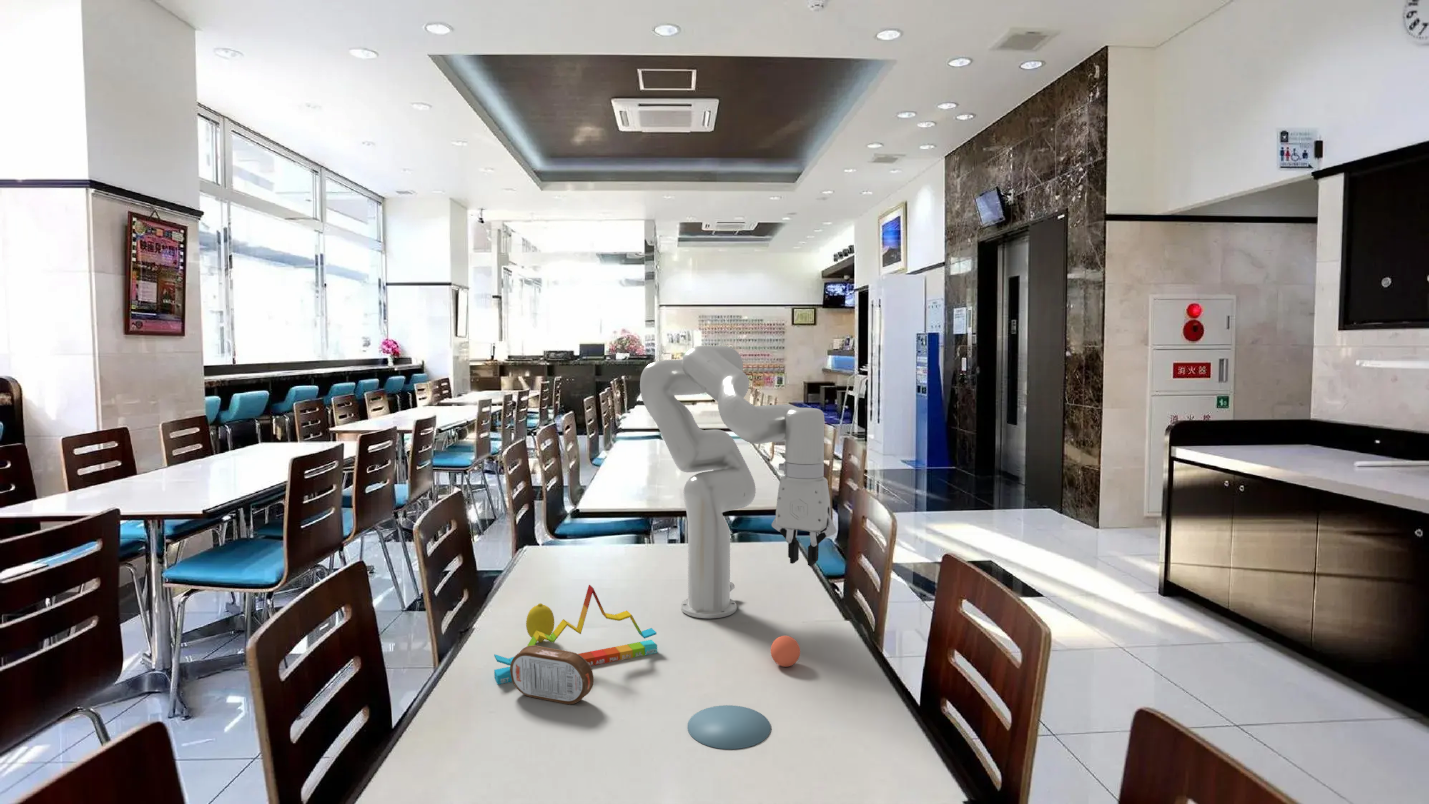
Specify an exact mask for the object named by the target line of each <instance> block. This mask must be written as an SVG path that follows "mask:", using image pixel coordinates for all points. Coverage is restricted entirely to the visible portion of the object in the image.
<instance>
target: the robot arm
mask: <svg viewBox="0 0 1429 804" xmlns="http://www.w3.org/2000/svg"><path fill="white" fill-rule="evenodd" d="M743 363H744V362H743V358H742V356H741V355H740V353H739V351H737V350H736V349H735V348H733V347H731V346H727V345H698V346H695V347H691V348H690V349H689V350H687V351H686V352H685V354H684V355H683V357H682V359H663V360H656V361H654V362H651V363H648V365H647V366H645V367H644V369H643V370H642V372H641V374H640V380H639V381H640V382H639V388H640V389H639V390H640V396H641V400H642V402H643V404H644V406H645V410H647V412H648V413H649V415H650V417H651V418H652V420H653V421H654V422H655V425H657V427H658V430H659V432H660V435H661V436H662V438H663V441H664V443H665V445H666V447H667V449H668V451H669V454H670V456H671V458H672V460H673V462H674V464H675V465H676V467H677V468H678V469H679V470H680V471H681V472H683V473H696V474H694V475H692V476H690V477H689V478H688V479H687V481H686V482H685V484H684V487H683V500H684V505H685V511H686V519H687V549H688V550H687V556H688V557H687V598H686V599H684V600H683V601H682V602H681V605H680V606H681V607H680V608H681V611H682V613H684V614H686V615H687V616H690V617H693V618H698V619H707V620H708V619H719V618H720V619H721V618H726V617H729V616H731V615H733V614H734V613H736V611H737V602H735V600H733V599H732V598H731V592H732V591H733V590H734V589H735V584H734V583H733V582H731V534H730V533H731V532H730V527H729V525H728V523H727V522H726V519H725V518H724V515H723V513H726V512H729V511H734V510H739V509H742V508H743V509H744V508H745V507H748V506H749V505H751V504H752V502H753V501H754V499H755V497H756V493H757V492H756V482H755V480H754V477H753V474H752V473H751V471H750V469H749V468H750V467H748V465H747V463H746V461H745V459H744V457H743V455H742V453H741V450H740V449H739V447H738V445H737V443H736V442H735V439H734V438H733V437H732V436H731V435H730V433H727V432H726V431H724V430H721V429H713V428H712V429H705V430H704V429H702V428H700V426H699V425H698V424H697V422H696V420H695V418H694V416H693V414H692V412H691V411H690V409H689V408H688V407H687V406H686V405H685V404H683V403H682V402H681V401H680V400H678V398H676V396H687V395H701V394H708V395H709V396H710V397H711V398H712V399H713V400H715V401H716V402H717V408H718V409H717V410H718V413H719V415H720V418H721V421H722V422H723V424H724V425H725V426H726V428H728V429H729V430H730V431H732V432H733V433H734V434H735V435H736V436H738V437H739V438H740V439H742V440H743V441H745V442H747V443H750V444H753V445H755V444H756V445H761V444H769V443H777V442H778V443H780V442H785V443H784V445H785V450H784V451H785V455H784V456H785V457H784V461H783V463H780V462H779V463H778V470H780V471H783V475H782V476H780V479H779V484H778V489H777V490H778V491H777V499H776V505H775V506H776V509H775V518H774V519H773V521H772V522H771V527H772V528H773V529H775V530H776V531H777V532H780V533H779V534H780V535H781V536H782V537H783V538H784V539H785V541H786V543H787V544H788V545H787V549H788V550H787V557H788V558H789V564H795V563H796V562H797V561H799V558H800V557H799V556H800V554H799V553H800V552H799V551H800V549H799V548H800V545H799V544H800V542H799V540H798V538H797V536H798V531H804V532H809V538H810V539H809V540H810V542H809V545H808V547H807V566H808V567H813V566H814V565H815V564H816V563H817V562H818V561H819V544H820V543H821V542H822V541H823V540H825V539H826V538H829V537H831V536H833V535H835V534H836V533H837V528H836V526H835V523H834V522H833V520H832V515H831V511H832V510H831V496H830V491H829V489H830V488H829V484H828V483H829V482H828V480H827V477H824V473H825V472H824V471H825V414H824V412H823V410H821V409H819V408H813V407H799V406H796V405H792V404H785V403H784V404H768V405H767V404H765V405H754V404H752V403H751V402H749V401H748V400H746V399H745V398H746V396H747V393H748V391H749V389H750V388H749V386H750V380H749V378H748V375H747V374H746V373H745V372H744V371H743V369H744V368H743V367H744V364H743ZM825 529H826V530H825Z"/></svg>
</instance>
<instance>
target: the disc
mask: <svg viewBox="0 0 1429 804" xmlns="http://www.w3.org/2000/svg"><path fill="white" fill-rule="evenodd" d="M687 731H688V733H689V735H690V736H691V737H692V738H693V739H694V740H695V741H697V742H698V743H700V744H701V745H705V746H707V747H711V748H715V749H720V750H738V749H739V750H740V749H745V748H746V749H747V748H750V747H753V746H755V745H758V744H760V743H761V742H763V741H765V740H766V739H767V738H768V736H769V735H770V733H771V724H770V721H769V719H768V718H767V717H766V716H765V715H764V714H762V713H761V712H759V711H757V710H755V709H752V708H749V707H746V706H740V705H733V704H732V705H730V704H729V705H727V704H726V705H725V704H724V705H715V706H711V707H706V708H704V709H701V710H700V711H698V712H696V713H694V714H693V715H692V716H691V717H690V718H689V720H688V722H687Z"/></svg>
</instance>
